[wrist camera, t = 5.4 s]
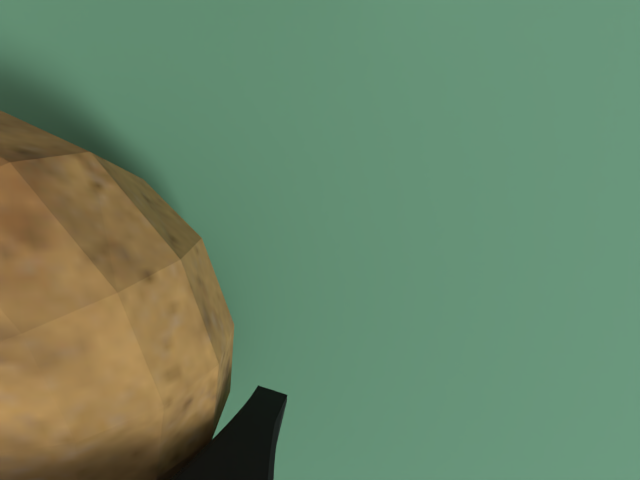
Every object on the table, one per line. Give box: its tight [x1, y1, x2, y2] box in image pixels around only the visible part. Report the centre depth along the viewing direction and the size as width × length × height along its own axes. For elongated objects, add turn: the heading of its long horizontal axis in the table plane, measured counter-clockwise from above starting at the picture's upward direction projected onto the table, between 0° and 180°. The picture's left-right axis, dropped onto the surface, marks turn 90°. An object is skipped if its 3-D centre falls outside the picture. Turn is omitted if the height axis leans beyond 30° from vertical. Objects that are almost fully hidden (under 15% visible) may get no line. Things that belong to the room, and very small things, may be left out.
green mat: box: [0, 0, 640, 480], centre depth 13 cm, size 24×26×1 cm
